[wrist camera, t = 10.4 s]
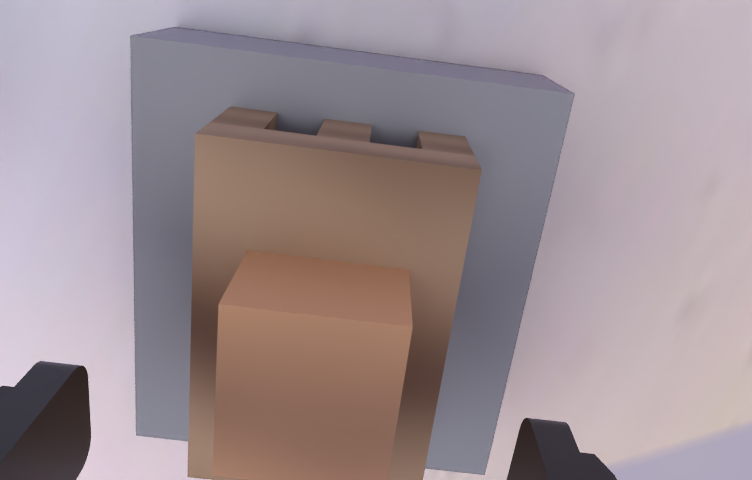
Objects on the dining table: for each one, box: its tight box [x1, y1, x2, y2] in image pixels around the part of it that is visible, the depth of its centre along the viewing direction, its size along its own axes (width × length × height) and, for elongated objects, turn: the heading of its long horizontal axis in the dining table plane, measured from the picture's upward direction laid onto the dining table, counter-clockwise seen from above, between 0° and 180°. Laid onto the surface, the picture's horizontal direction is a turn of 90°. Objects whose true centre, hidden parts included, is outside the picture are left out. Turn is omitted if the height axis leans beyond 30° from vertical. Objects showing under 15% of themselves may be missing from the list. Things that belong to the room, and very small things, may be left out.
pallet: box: [188, 107, 482, 480], centre depth 17 cm, size 9×6×3 cm, turn 173°
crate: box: [212, 250, 413, 480], centre depth 14 cm, size 4×4×3 cm
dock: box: [130, 27, 574, 475], centre depth 20 cm, size 12×11×4 cm
